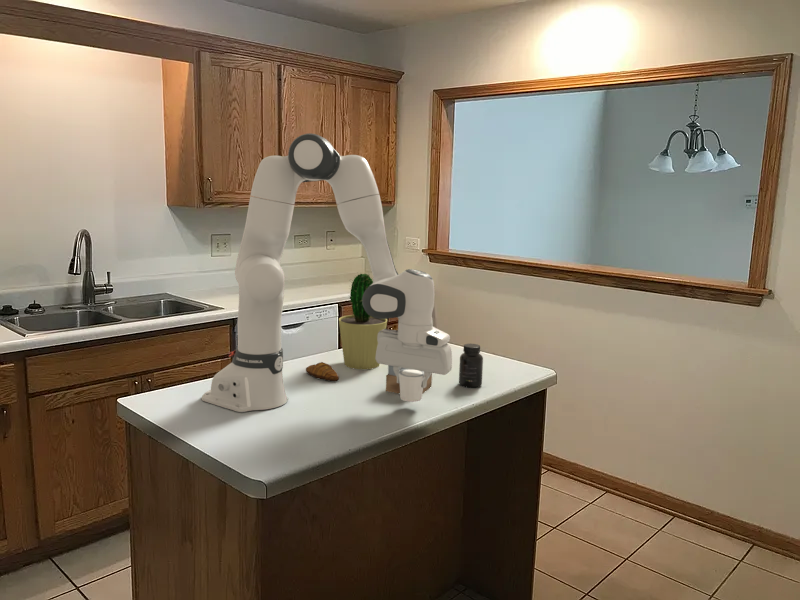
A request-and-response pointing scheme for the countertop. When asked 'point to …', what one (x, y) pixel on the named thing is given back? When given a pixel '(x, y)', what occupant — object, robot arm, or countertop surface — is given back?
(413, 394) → the white piece
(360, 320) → the potted cactus
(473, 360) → the supplement bottle
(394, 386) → the bottom block
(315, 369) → the croissant
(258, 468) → the countertop surface
